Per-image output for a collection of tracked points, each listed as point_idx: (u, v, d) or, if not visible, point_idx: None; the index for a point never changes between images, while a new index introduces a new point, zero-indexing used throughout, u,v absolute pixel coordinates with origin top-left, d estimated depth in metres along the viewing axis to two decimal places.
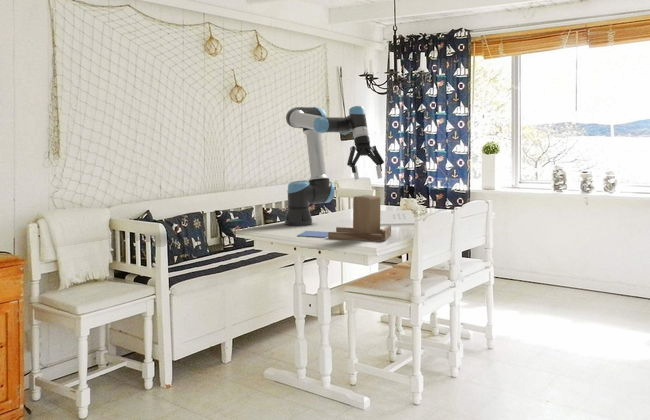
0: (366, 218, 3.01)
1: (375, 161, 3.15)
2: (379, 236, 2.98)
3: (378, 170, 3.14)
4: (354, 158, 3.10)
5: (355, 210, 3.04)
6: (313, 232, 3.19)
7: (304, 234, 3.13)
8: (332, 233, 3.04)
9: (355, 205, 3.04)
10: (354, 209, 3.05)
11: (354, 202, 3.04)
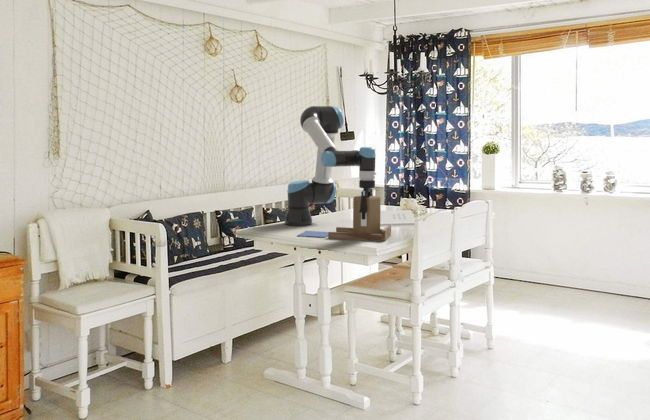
0: (367, 218, 3.01)
1: None
2: (379, 236, 2.98)
3: None
4: None
5: (355, 210, 3.04)
6: (313, 232, 3.19)
7: (304, 234, 3.13)
8: (332, 233, 3.04)
9: (355, 205, 3.04)
10: (354, 209, 3.05)
11: (354, 202, 3.04)
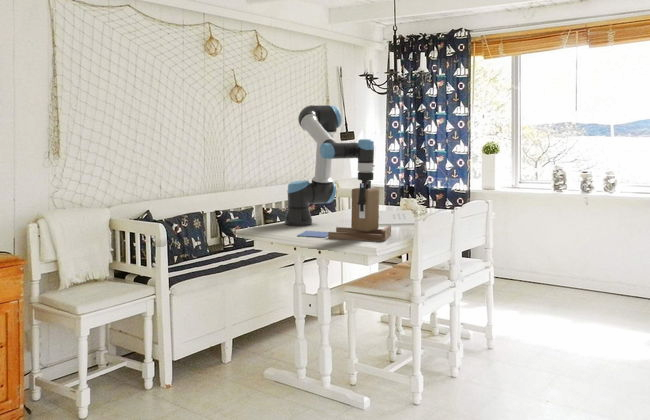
0: (365, 210, 3.01)
1: None
2: (379, 236, 2.98)
3: None
4: None
5: (354, 202, 3.04)
6: (313, 232, 3.19)
7: (304, 234, 3.13)
8: (332, 233, 3.04)
9: (353, 197, 3.04)
10: (352, 201, 3.05)
11: (352, 194, 3.04)
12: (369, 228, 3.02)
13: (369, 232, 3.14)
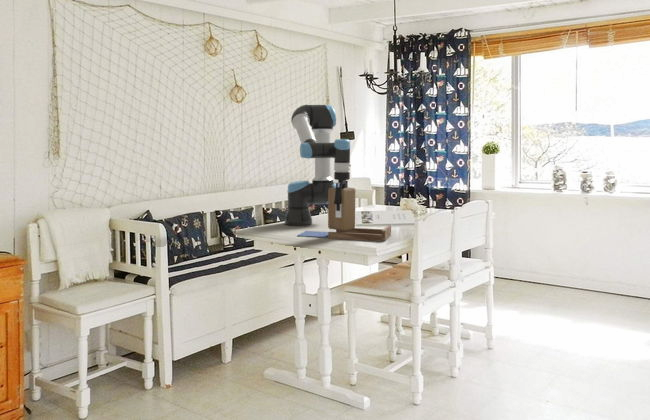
0: (341, 209, 3.04)
1: None
2: (379, 236, 2.98)
3: None
4: None
5: (330, 201, 3.08)
6: (313, 232, 3.19)
7: (304, 234, 3.13)
8: (332, 233, 3.04)
9: (330, 196, 3.07)
10: (329, 200, 3.08)
11: (329, 194, 3.07)
12: (345, 227, 3.06)
13: (369, 232, 3.14)
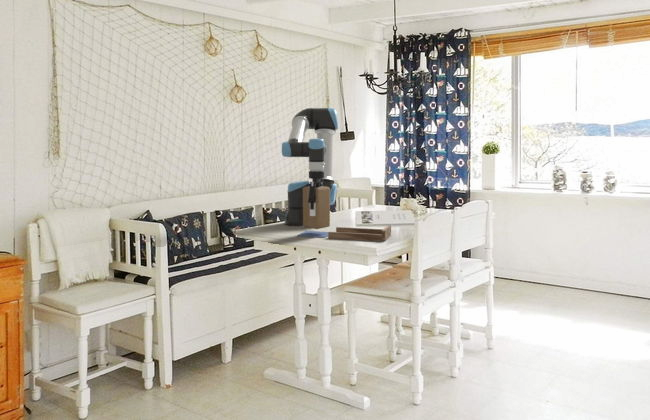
0: None
1: None
2: (379, 236, 2.98)
3: None
4: None
5: (305, 200, 3.11)
6: (313, 232, 3.19)
7: (304, 234, 3.13)
8: (332, 233, 3.04)
9: (304, 195, 3.11)
10: (304, 199, 3.11)
11: (304, 192, 3.11)
12: (320, 226, 3.09)
13: (369, 232, 3.14)
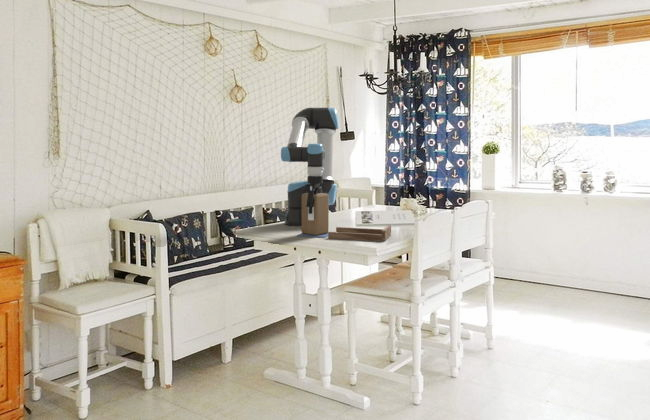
0: (314, 215, 3.08)
1: None
2: (379, 236, 2.98)
3: None
4: None
5: (304, 207, 3.11)
6: None
7: (304, 234, 3.13)
8: (332, 233, 3.04)
9: (303, 202, 3.11)
10: (302, 206, 3.12)
11: (302, 199, 3.11)
12: (318, 232, 3.09)
13: (369, 232, 3.14)
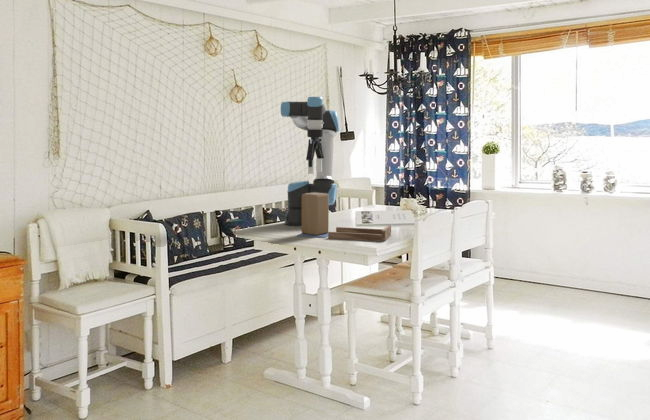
0: (314, 215, 3.08)
1: (318, 154, 3.16)
2: (379, 236, 2.98)
3: (319, 163, 3.17)
4: None
5: (304, 207, 3.11)
6: None
7: (304, 234, 3.13)
8: (332, 233, 3.04)
9: (303, 202, 3.11)
10: (302, 206, 3.12)
11: (302, 199, 3.11)
12: (318, 232, 3.09)
13: (369, 232, 3.14)
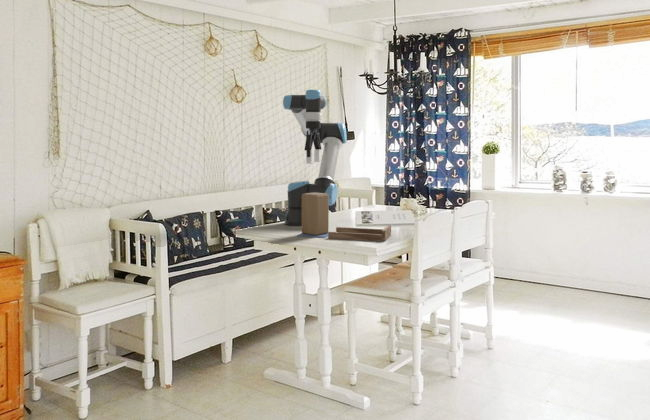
0: (314, 215, 3.08)
1: (316, 145, 3.29)
2: (379, 236, 2.98)
3: (317, 154, 3.30)
4: None
5: (304, 207, 3.11)
6: None
7: (304, 234, 3.13)
8: (332, 233, 3.04)
9: (303, 202, 3.11)
10: (302, 206, 3.12)
11: (302, 199, 3.11)
12: (318, 232, 3.09)
13: (369, 232, 3.14)
